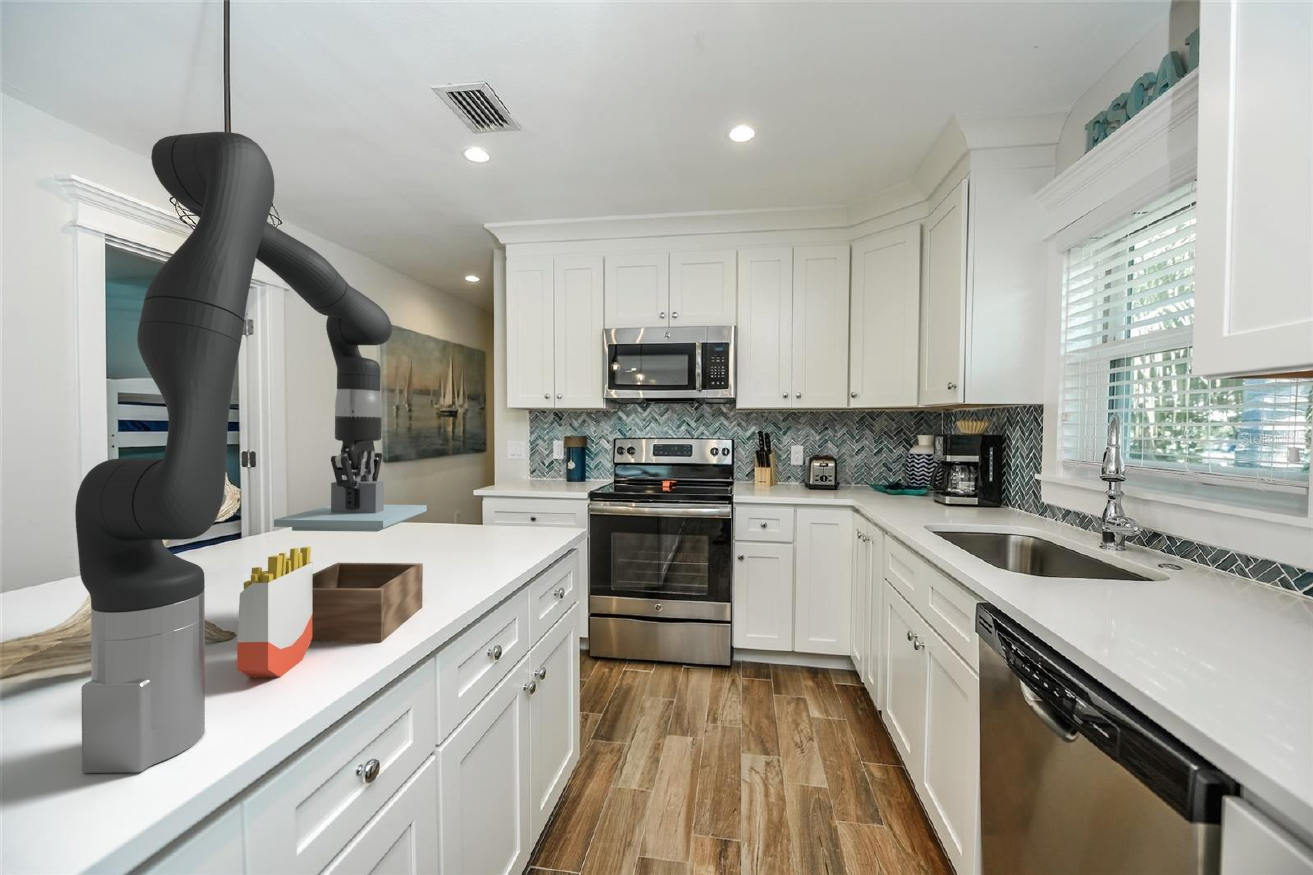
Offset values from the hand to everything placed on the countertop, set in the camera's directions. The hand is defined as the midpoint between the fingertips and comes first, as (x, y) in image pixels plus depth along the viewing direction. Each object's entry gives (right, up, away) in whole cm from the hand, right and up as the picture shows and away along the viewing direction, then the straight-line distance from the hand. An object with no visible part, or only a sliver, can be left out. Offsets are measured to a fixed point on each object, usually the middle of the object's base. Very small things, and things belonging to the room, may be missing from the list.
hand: (358, 507), depth 96 cm
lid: (0, -3, 0) cm, 3 cm away
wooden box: (0, -22, +1) cm, 22 cm away
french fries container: (-2, -22, -18) cm, 29 cm away
